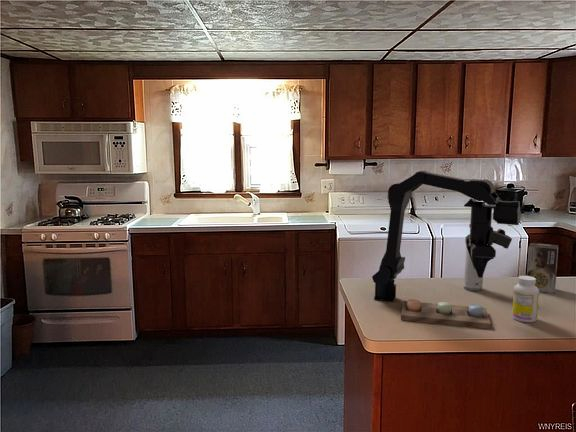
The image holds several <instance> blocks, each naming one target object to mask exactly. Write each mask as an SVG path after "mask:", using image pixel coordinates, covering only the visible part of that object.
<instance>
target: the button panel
mask: <svg viewBox="0 0 576 432" xmlns="http://www.w3.org/2000/svg"><path fill="white" fill-rule="evenodd" d="M407 301H408V300H403V301H402V306H401V314H400V320H401V321H409V322H418V321H420V323H430V324H440V325H450V326H460V327H468V328H469V327H471V328H479V329H480V328H481V329H490V330H491V329H492V322H491V319H490V316H489V314H488V310H487V307H483V316H482V317H473V316H470V315H469V305H457V304H451V313H450V314H441V313H439V312H437V306H438V303H432V302H423V301H422V302H421V301H420V302H421V307H420V311H410V310H408V309H407Z"/></svg>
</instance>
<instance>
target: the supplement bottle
mask: <svg viewBox="0 0 576 432" xmlns="http://www.w3.org/2000/svg"><path fill="white" fill-rule="evenodd" d="M517 281H518V283H517V284H515V285H514V286H513V296H512V297H513V299H512V309H511V310H512V312H511V316H512V318H513V319H514V320H516V321H519V322H522V323H533V322H534V323H535V322H536V321H537V319H538V309H539V297H540V295H539V294H540V291H539V289H538V288H537V287H536V286H535V283H536V278H534V277H531V276H527V275H519V276H518V277H517Z"/></svg>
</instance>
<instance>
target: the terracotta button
mask: <svg viewBox="0 0 576 432" xmlns="http://www.w3.org/2000/svg"><path fill="white" fill-rule="evenodd" d="M406 301H407V309H408V310H407V311H416V312H421V311H420V307H421V301H420V300H419V299H415V298H414V299H413V298H412V299H408V300H406Z"/></svg>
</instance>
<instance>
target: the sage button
mask: <svg viewBox="0 0 576 432" xmlns="http://www.w3.org/2000/svg"><path fill="white" fill-rule="evenodd" d="M437 304H438V306H437V312H439V313H438V314H449V315H451V314H450V313H451V305H452V304H451V303H450V302H447V301H439V302H437Z"/></svg>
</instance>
